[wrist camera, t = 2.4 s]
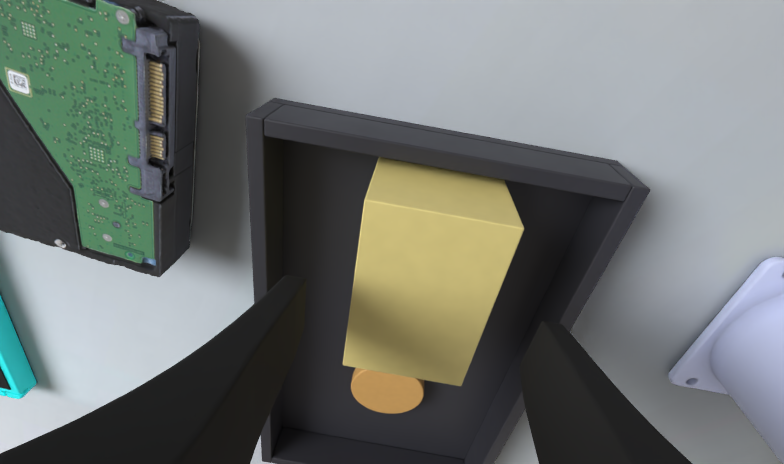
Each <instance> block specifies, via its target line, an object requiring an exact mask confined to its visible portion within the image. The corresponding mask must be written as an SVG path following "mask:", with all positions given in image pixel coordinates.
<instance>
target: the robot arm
mask: <svg viewBox="0 0 784 464" xmlns="http://www.w3.org/2000/svg"><path fill="white" fill-rule="evenodd" d="M306 280H307V278H301V277H296V276H290V275H286V276H284V277H283V278H282V279H281V280H280V281H279V282H278V283H276V284H275V285H274V286H273V287H272V288H271V289H270V290H269V291H268V292H267V293H266V294H265V295H264V296H263V297H262V298H261V299H259V300H258V301H257V302H256V303H255V304H254V305H253V306H252V307H250V308H249V309H248V310H247V311H246V312H245V313H244V314H242V315H241V316H240V317H239V318H238V319H237V320H235V321H234V322H233V323H232V324H230V325H229V326H228V327H227V328H225V329H224V330H223V331H221V332H220V333H219V334H218V335H216V336H215V337H214V338H212V339H211V340H210V341H209V342H207V343H206V344H204V345H203V346H202V347H200V348H199V349H197V350H196V351H195V352H193V353H192V354H190V355H189V356H187V357H186V358H184V359H183V360H181V361H180V362H178V363H177V364H175V365H174V366H172V367H171V368H169V369H167V370H166V371H164V372H162V373H161V374H159V375H158V376H156V377H154V378H153V379H151V380H149V381H148V382H146V383H144V384H143V385H141V386H139V387H137V388H136V389H134V390H132V391H130V392H129V393H127V394H125V395H123V396H121V397H119V398H117V399H115V400H114V401H112V402H110V403H108V404H106V405H104V406H102V407H100V408H98V409H96V410H94V411H92V412H91V413H89V414H87V415H85V416H83V417H81V418H79V419H77V420H75V421H73V422H70V423H68V424H66V425H64V426H62V427H60V428H57V429H55V430H53V431H51V432H48V433H46V434H44V435H42V436H39V437H37V438H35V439H33V440H31V441H28V442H26V443H24V444H22V445H19V446H17V447H15V448H12V449H10V450H8V451H5V452H3V453H1V454H0V464H250V462H251V459H252V456H253V453H254V450H255V447H256V445H257V442H258V439H259V437H260V434H261V432H262V430H263V427H264V425H265V423H266V420H267V418H268V416H269V414H270V411H271V409H272V407H273V405H274V403H275V400H276V398H277V396H278V394H279V391H280V389H281V387H282V385H283V383H284V380H285V378H286V376H287V374H288V371H289V369H290V367H291V365H292V362H293V360H294V358H295V355H296V352H297V349H298V345H299V342H300V339H301V336H302V333H303V329H304V323H305V301H306ZM520 376H521V385H522V393H523V399H524V404H525V408H526V412H527V416H528V421H529V425H530V429H531V433H532V437H533V441H534V445H535V449H536V453H537V457H538V461H539V464H692V463H691V462H690V461H689V460H688V459H687V458H686V457H685V456H684V455H682V454H681V453H680V452H679V451H678V450H677V449H676V448H675V447H674V446H673V445H672V444H671V443H670V442H669V441H668V440H667V439H665V438H664V437H663V436H662V435H661V434H660V433H659V432H658V431H657V430H656V429H655V428H654V427H653V426H652V425H651V424H650V423H649V422H648V421H647V420H646V418H645V417H644V416H643V415H642V414H641V413H640V412H639V411H638V410H637V409H636V408H635V407H634V406H633V405H632V404H631V403H630V402H629V401H628V399H627V398H626V397H625V396H624V395H623V394H622V393H621V392H620V391H619V390H618V388H617V387H616V386H615V385H614V384H613V383H612V382H611V380H610V379H609V378H608V377H607V376H606V375H605V374H604V372H603V371H602V370H601V369H600V368H599V367H598V365H597V364H596V363H595V362H594V361H593V359H592V358H591V357H590V356H589V355H588V354H587V352H586V351H585V350H584V349H583V348H582V346H581V345H580V344H579V343H578V342H577V341H576V339H575V338H574V337H573V336H572V335H571V334H570V332H569V331H568V330H567V329H566V328H565V327H564V326H563V325H562V324H559V323H553V322H548V321H542V322H541V324H540V326H539V328H538V330H537V332H536V334H535V336H534V338H533V339H532V341H531V343H530V345H529V347H528V349H527V351H526V353H525V355H524V357H523V359H522V361H521V363H520ZM668 378H669V379H670V381H671V382H672V383H673V384H674V385H678V386H683V387H689V388H695V389H700V390H706V391H711V392H717V393H722V394H728V395H730V396H731V397H732V399H733V400H734V401H735V402H736V404H737V405H738V406H739V408H740V409H741V410H742V412H743V413H744V414H745V416H746V417H747V418H748V420H749V421H750V422H751V423H752V425H753V426H754V427H755V429H756V430H757V431H758V433H759V434H760V435H761V437H762V438H763V439H764V441H765V442H766V443H767V444H768V446H769V447H770V448H771V450H772V451H773V452H774V454H775V455H776V456H777V458H778V459H779V460H780V462H781V463H782V464H784V258H783V257H771V258H768V259H766V260H764V261H763V262H761V263H760V264H759V266H758V267H757V268H756V269H755V270H754V272H753V273H752V274H751V275H750V276H749V278H748V279H747V280H746V281H745V282H744V283H743V285H742V286H741V287H740V288H739V289H738V291H737V292H736V293H735V294H734V295H733V297H732V298H731V299H730V300H729V301H728V303H727V304H726V305H725V306H724V307H723V309H722V310H721V311H720V312H719V313H718V314H717V316H716V317H715V318H714V319H713V320H712V322H711V323H710V324H709V325H708V326H707V328H706V329H705V330H704V331H703V332H702V334H701V335H700V336H699V337H698V338H697V340H696V341H695V342H694V343H693V344H692V345H691V347H690V348H689V349H688V350H687V351H686V353H685V354H684V355H683V356H682V357H681V359H680V360H679V361H678V362H677V363H676V365H675V366H674V367H673V368H672V369H671V371H670V372H669V373H668Z"/></svg>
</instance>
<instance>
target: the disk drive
mask: <svg viewBox="0 0 784 464" xmlns="http://www.w3.org/2000/svg"><path fill="white" fill-rule="evenodd" d="M199 30H200V24H199V20H198V19H197V18H196V17H195V16H194V15H192V14H191V13H186V12H184V11H181V10H178V9H177V8H176V7H172V6H169V5H167V4H164V3H162V2H159V1H156V0H0V230H1V231H4V232H6V233H12V234H15V235H17V236H20V237H23V238H29V239H30V240H34V241H39V242H40V243H43V244H46V245H50V246H53V247H55V246H56V247H61V248H62V249H65V250H68V251H71V252H75V253H78V254H81V255H83V256H86V257H89V258H91V259H96V260H98V261H102V262H105V263H107V264H113V265H120V266H125V267H126V268H129V269H132V270H134V271H138V272H141V273H145V274H150V275H152V276H157V277H160V276H161V275H162V274H163V273H164V272H165V271H166V270H168V269H169V268H170V266H172V265H173V264H174V263H175V262H176V261H177V260H178V259H179V258H180V257H181V255H182V254H183V253H184V252H185V251H186V250H187V249H188V248H189V247H190V241H189V240H190V231H191V224H192V213H193V192H194V167H195V165H194V163H195V146H196V145H195V142H196V126H197V125H196V123H197V121H196V120H197V104H198V75H199V56H200V53H199V52H200V42H199V39H198V37H199Z"/></svg>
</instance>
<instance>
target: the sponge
mask: <svg viewBox="0 0 784 464" xmlns="http://www.w3.org/2000/svg"><path fill="white" fill-rule="evenodd" d="M523 231H524V226H523V224H522V222H521V219H520V217H519V214H518V212H517V210H516V207H515V205H514V202H513V200H512V197H511V195H510V193H509V190H508V188H507V185H506V183H505V180H503V179H497V178H492V177H486V176H481V175H475V174H470V173H464V172H459V171H454V170H448V169H443V168H437V167H432V166H426V165H421V164H415V163H410V162H404V161H399V160H393V159H388V158H382V157H379V158H378V161H377V164H376V167H375V170H374V173H373V176H372V179H371V182H370V185H369V188H368V191H367V194H366V197H365V199H364V206H363V213H362V221H361V229H360V236H359V244H358V251H357V259H356V266H355V274H354V281H353V289H352V297H351V304H350V312H349V319H348V327H347V334H346V342H345V350H344V357H343V365H344V366H350V367H355V368H361V369H366V370H372V371H378V372H383V373H389V374H394V375H400V376H405V377H411V378H417V379H422V380H428V381H433V382H439V383H444V384H450V385H456V386H461V385H462V383H463V380H464V378H465V375H466V373H467V370H468V368H469V365H470V363H471V360H472V358H473V355H474V353H475V350H476V348H477V345H478V343H479V341H480V338H481V336H482V333H483V331H484V328H485V326H486V323H487V321H488V318H489V316H490V313H491V311H492V308H493V306H494V303H495V301H496V298H497V296H498V293H499V291H500V288H501V286H502V283H503V281H504V278H505V276H506V273H507V271H508V268H509V266H510V263H511V261H512V259H513V256H514V254H515V251H516V249H517V246H518V244H519V241H520V239H521V236H522V234H523Z"/></svg>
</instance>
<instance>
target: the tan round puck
mask: <svg viewBox="0 0 784 464" xmlns="http://www.w3.org/2000/svg"><path fill="white" fill-rule="evenodd" d="M351 391H352V394H353V396H354V397H355V399H356V400H357V401H358V402H359V403H360V404H362V405H363V406H365V407H366V408H368V409H371V410H373V411H376V412H381V413H388V414H396V413H403V412H407V411H409V410H412V409H413V408H415V407H416V406H418V405H419V404H420V402H421V401H422V399H423V397H424V380H422V379H417V378H411V377H405V376H400V375H394V374H389V373H383V372H378V371H372V370H366V369H361V368H355V370H354V372H353V377H352V381H351Z"/></svg>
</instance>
